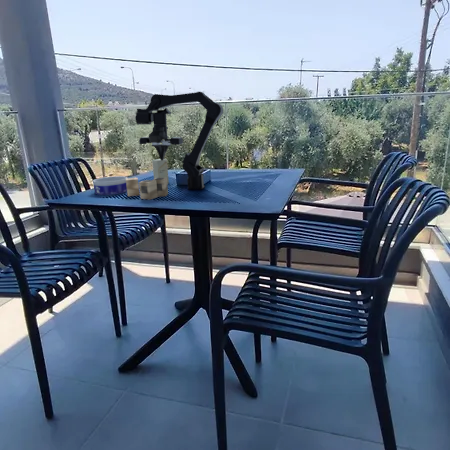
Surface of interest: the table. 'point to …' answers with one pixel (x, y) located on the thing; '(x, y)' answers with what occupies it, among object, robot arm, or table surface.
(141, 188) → the labelled oak block near
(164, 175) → the skincare box
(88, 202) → the table surface
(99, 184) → the dog bowl
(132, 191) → the plain oak block
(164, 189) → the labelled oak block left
